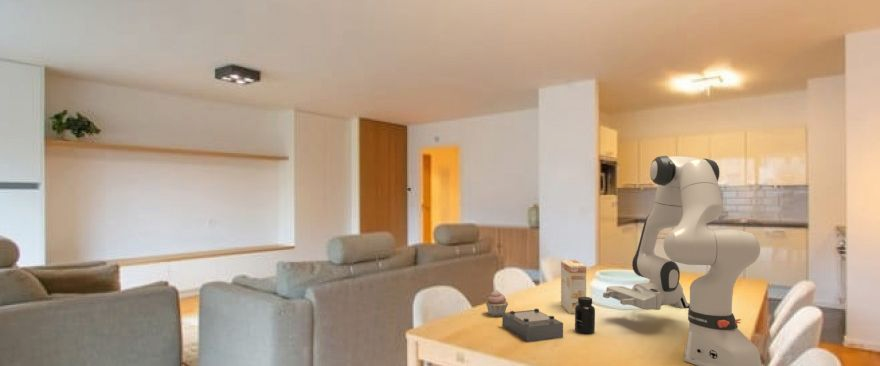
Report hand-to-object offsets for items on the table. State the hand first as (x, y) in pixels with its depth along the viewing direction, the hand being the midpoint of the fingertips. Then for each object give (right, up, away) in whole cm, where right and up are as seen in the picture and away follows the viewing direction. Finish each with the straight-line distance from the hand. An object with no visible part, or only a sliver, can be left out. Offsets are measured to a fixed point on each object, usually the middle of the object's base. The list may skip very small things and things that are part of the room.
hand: (612, 298), depth 173 cm
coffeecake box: (-7, -11, +25) cm, 29 cm away
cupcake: (-40, -11, +17) cm, 45 cm away
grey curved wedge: (+38, -11, +35) cm, 53 cm away
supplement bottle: (-12, -11, -5) cm, 16 cm away
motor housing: (-31, -11, -3) cm, 33 cm away
